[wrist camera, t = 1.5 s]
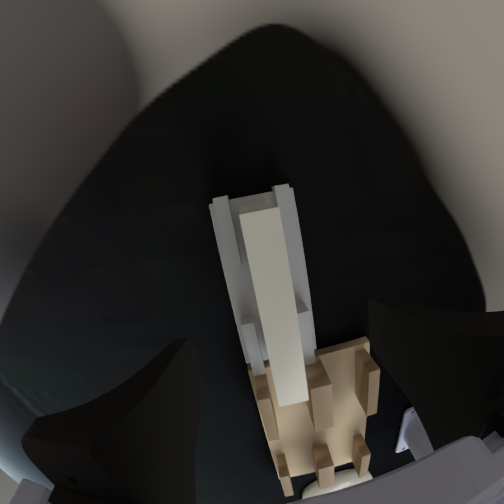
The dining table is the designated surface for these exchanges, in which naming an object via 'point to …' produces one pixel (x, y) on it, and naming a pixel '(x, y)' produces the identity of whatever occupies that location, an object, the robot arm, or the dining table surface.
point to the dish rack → (322, 414)
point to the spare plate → (336, 483)
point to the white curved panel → (275, 299)
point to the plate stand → (241, 279)
